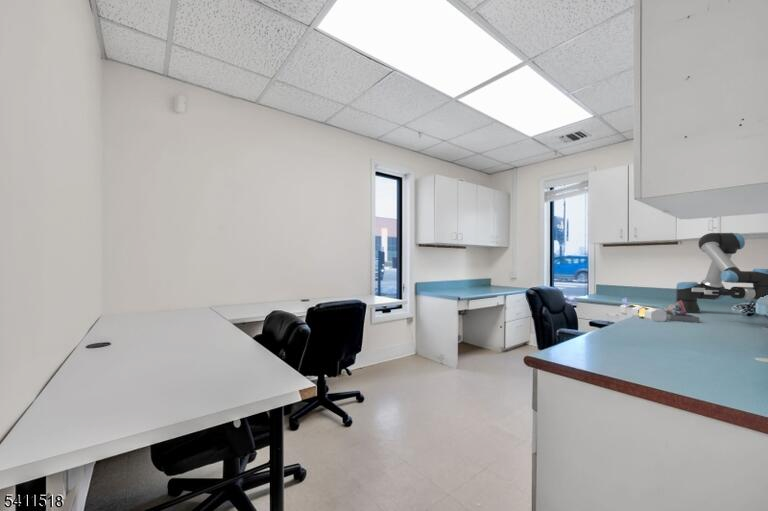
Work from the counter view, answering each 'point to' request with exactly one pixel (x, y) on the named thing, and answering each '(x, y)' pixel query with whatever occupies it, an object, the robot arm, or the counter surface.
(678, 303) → the brake caliper
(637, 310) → the segmented white rod
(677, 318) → the parts bin
